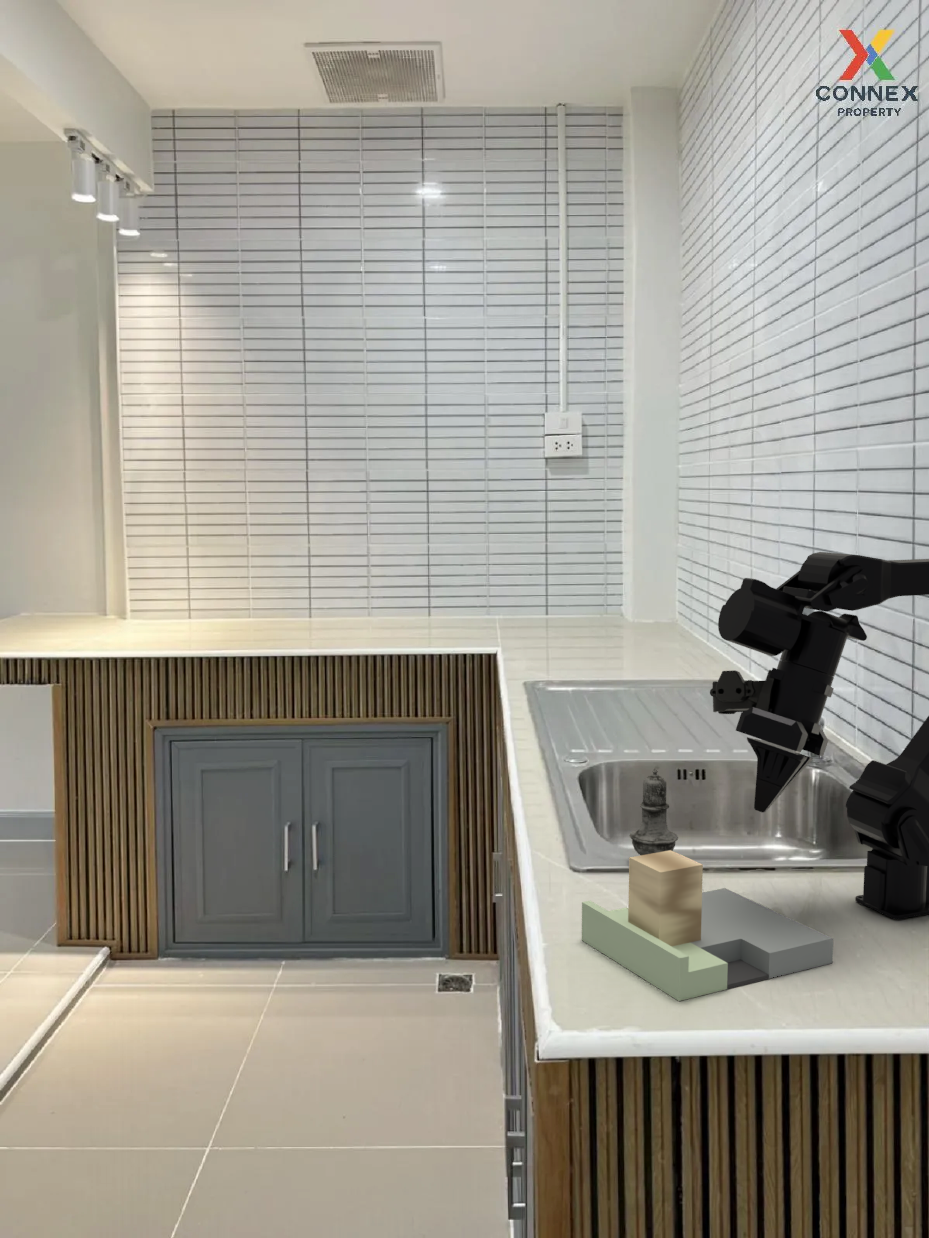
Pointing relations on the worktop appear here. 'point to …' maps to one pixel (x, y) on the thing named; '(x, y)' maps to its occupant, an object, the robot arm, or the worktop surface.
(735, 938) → the board
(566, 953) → the worktop surface
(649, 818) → the salt shaker
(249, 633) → the worktop surface
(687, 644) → the worktop surface
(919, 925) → the worktop surface
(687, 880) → the beech block
